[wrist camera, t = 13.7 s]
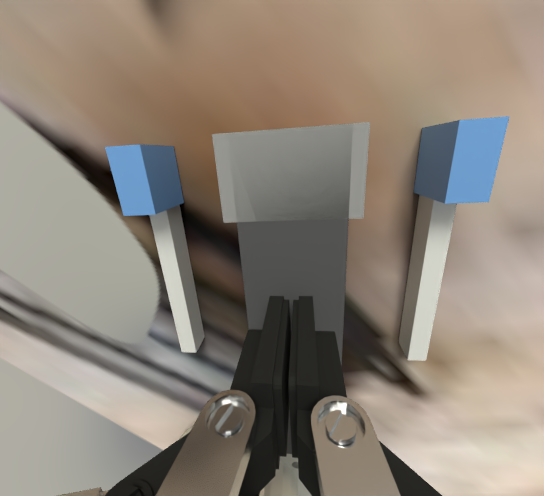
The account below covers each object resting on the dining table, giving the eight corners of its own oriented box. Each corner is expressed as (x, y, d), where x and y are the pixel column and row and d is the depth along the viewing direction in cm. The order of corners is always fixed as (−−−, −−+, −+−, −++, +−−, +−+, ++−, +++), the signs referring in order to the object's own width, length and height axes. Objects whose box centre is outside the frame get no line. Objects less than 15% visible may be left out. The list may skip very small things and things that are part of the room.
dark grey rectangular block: (335, 379, 18) (346, 458, 13) (265, 375, 18) (253, 450, 14) (344, 133, 12) (370, 122, 8) (244, 140, 13) (212, 134, 8)
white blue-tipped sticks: (677, 349, 14) (769, 397, 11) (187, 336, 18) (166, 370, 15) (837, 97, 10) (1050, 75, 7) (145, 148, 13) (105, 147, 11)
